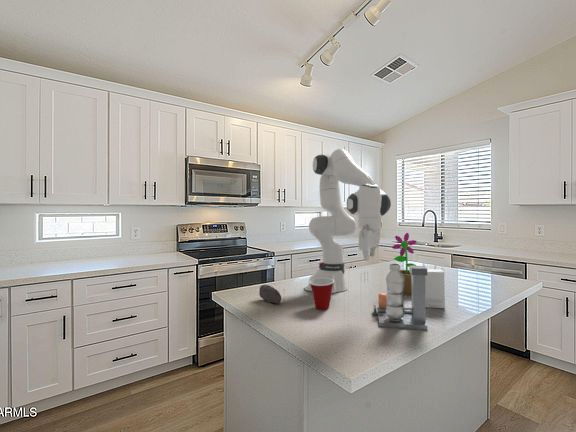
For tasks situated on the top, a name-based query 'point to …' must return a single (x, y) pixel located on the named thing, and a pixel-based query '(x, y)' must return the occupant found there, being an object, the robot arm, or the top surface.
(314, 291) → the plastic cup
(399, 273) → the plastic bottle
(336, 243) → the robot arm
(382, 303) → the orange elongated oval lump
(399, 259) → the flowerpot
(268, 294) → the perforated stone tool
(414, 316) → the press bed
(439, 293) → the skincare box
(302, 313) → the top surface
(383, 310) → the rail
